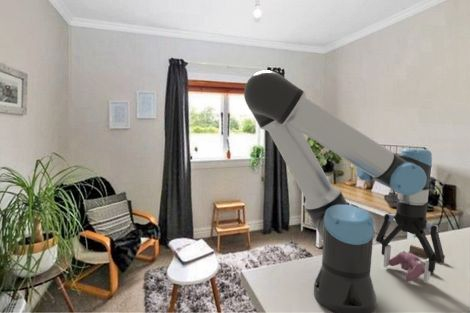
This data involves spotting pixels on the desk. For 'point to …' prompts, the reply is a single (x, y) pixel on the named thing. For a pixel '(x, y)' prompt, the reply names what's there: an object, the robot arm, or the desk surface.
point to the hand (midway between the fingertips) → (405, 272)
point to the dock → (420, 253)
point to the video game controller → (409, 260)
